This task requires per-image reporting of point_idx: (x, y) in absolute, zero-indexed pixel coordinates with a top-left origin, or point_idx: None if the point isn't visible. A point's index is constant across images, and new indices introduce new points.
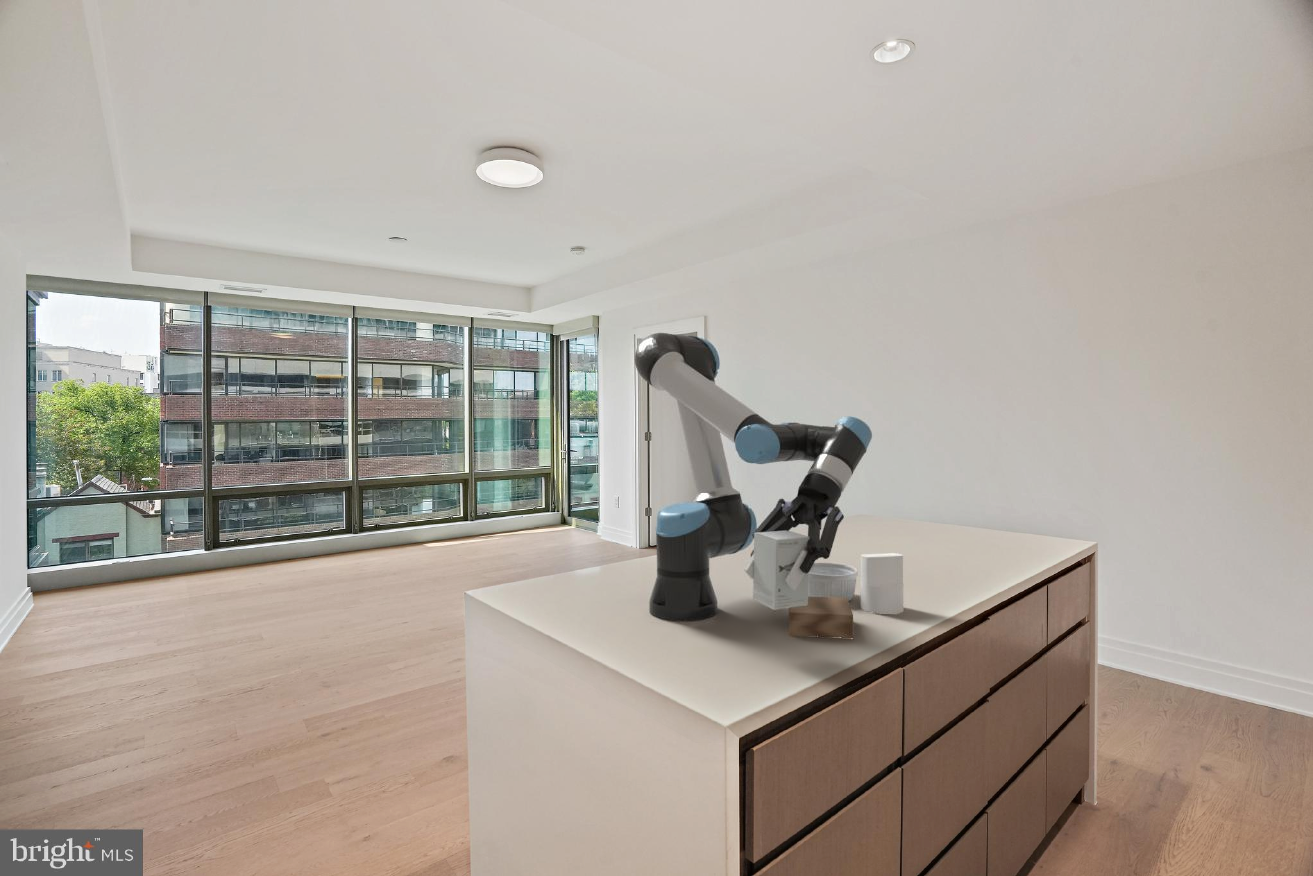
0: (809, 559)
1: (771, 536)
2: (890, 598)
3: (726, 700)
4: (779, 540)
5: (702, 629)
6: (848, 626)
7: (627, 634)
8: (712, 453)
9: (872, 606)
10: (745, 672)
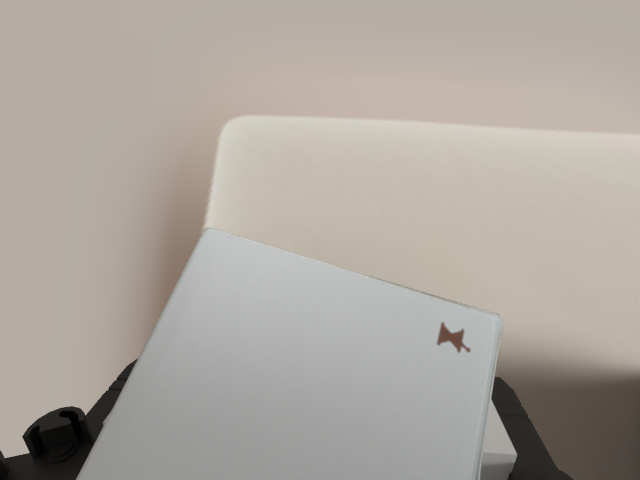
0: (98, 403)
1: (290, 275)
2: None
3: (264, 155)
4: (196, 244)
5: (569, 388)
6: None
7: (625, 234)
8: None
9: None
10: (308, 251)
